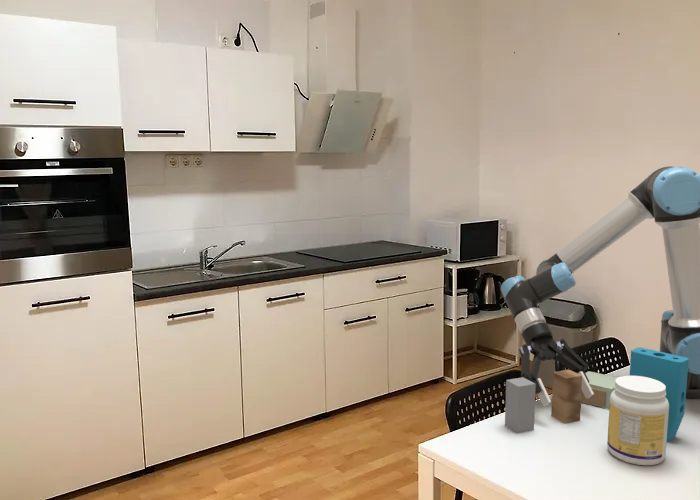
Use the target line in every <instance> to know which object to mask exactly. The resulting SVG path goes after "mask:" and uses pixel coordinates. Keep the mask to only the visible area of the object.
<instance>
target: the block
mask: <svg viewBox="0 0 700 500" xmlns="http://www.w3.org/2000/svg"><path fill="white" fill-rule="evenodd" d="M688 360H689V359H688V358H686V357H682V356H677V355H673V354H668V353H664V352H660V350H655V349H649V348H646V347H636V348H633V349H630V360H629V361H630V363H629V364H630V365H629V376H642V377H648V378H652V379H655V380H658V381H660V382H662V383H663V384H664V385H665V386H666V396H665V397H666V398H667V400H668V402H669V415H668V428H667V442H671V441H673V439H675V438H676V436H677V434H678V431H679V429H680V425H681V423H682V421H683V418H684V416H685V411H686V400H687V398H686V387H687V373H688ZM667 442H666V443H667Z"/></svg>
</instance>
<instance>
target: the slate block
mask: <svg viewBox="0 0 700 500" xmlns="http://www.w3.org/2000/svg"><path fill="white" fill-rule="evenodd" d="M535 388H536V384H535V383H533V382H531V381H529V380H527V379H525V378H523V377H522V378H521V377H518V378H517V377H516V378H510V379H506V381H505V411H504V414H505V415H504V426H505V427H506V428H508V429H509V430H511V431H512V432H514V433H516V434H522V433H526V432H532V431H535V415H536V413H535V411H536V409H535V408H536V393H535Z"/></svg>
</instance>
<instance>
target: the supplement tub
mask: <svg viewBox="0 0 700 500" xmlns="http://www.w3.org/2000/svg"><path fill="white" fill-rule="evenodd" d="M614 388H615V390H614V391H613V392H612V393H611V395H610V407H609V409H608V410H609V411H608V427H607V441H606V442H607V443H606V444H607V445H606V446H607V449H608V451H609V453H610V454H612V455H613V456H614V457H615V458H617V459H618V460H620V461H623V462H626V463H629V464H632V465H637V466H638V465H639V466H655V465H657V464H660V463H662V462H663V461H664V460H665V458H666V454H667V453H666V451H667V428H668V415H669V402H668V400H667V398H666V397H665V396H666V386H665V385H664V384H663V383H662V382H660V381H658V380H655V379H652V378H648V377H642V376H630V375H623V376H619V377H617V379H616V380H615V385H614Z"/></svg>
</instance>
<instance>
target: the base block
mask: <svg viewBox="0 0 700 500" xmlns="http://www.w3.org/2000/svg"><path fill="white" fill-rule="evenodd" d="M585 374H586V376H587V378H588V380H589V385H590V387H591V389H592V391H593V393H594V394H593V395H592V396H591V397H590V398H588V399H586V398H585V396H584V394H583V392H582V390H581V403H583V404H586V405H591V406H595V407H598V408H602V409H606V410H609V407H610V395H611V393H612V392H613V391H614V390H615V388H614V385H615V380H616V379H617V378H618V377H617V376H612V375H608V374H603V373H599V372H594V371H587V372H585Z"/></svg>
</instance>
